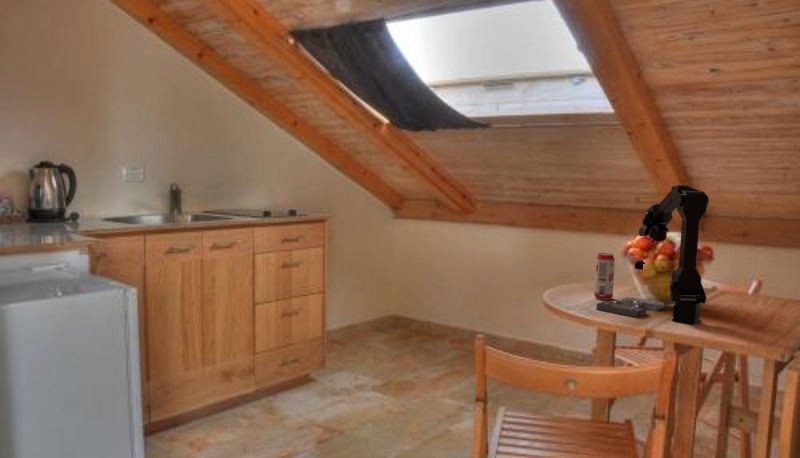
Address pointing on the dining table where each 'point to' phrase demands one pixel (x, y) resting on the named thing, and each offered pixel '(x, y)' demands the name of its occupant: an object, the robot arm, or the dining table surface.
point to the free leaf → (643, 303)
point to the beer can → (604, 276)
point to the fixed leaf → (622, 308)
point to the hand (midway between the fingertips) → (654, 288)
